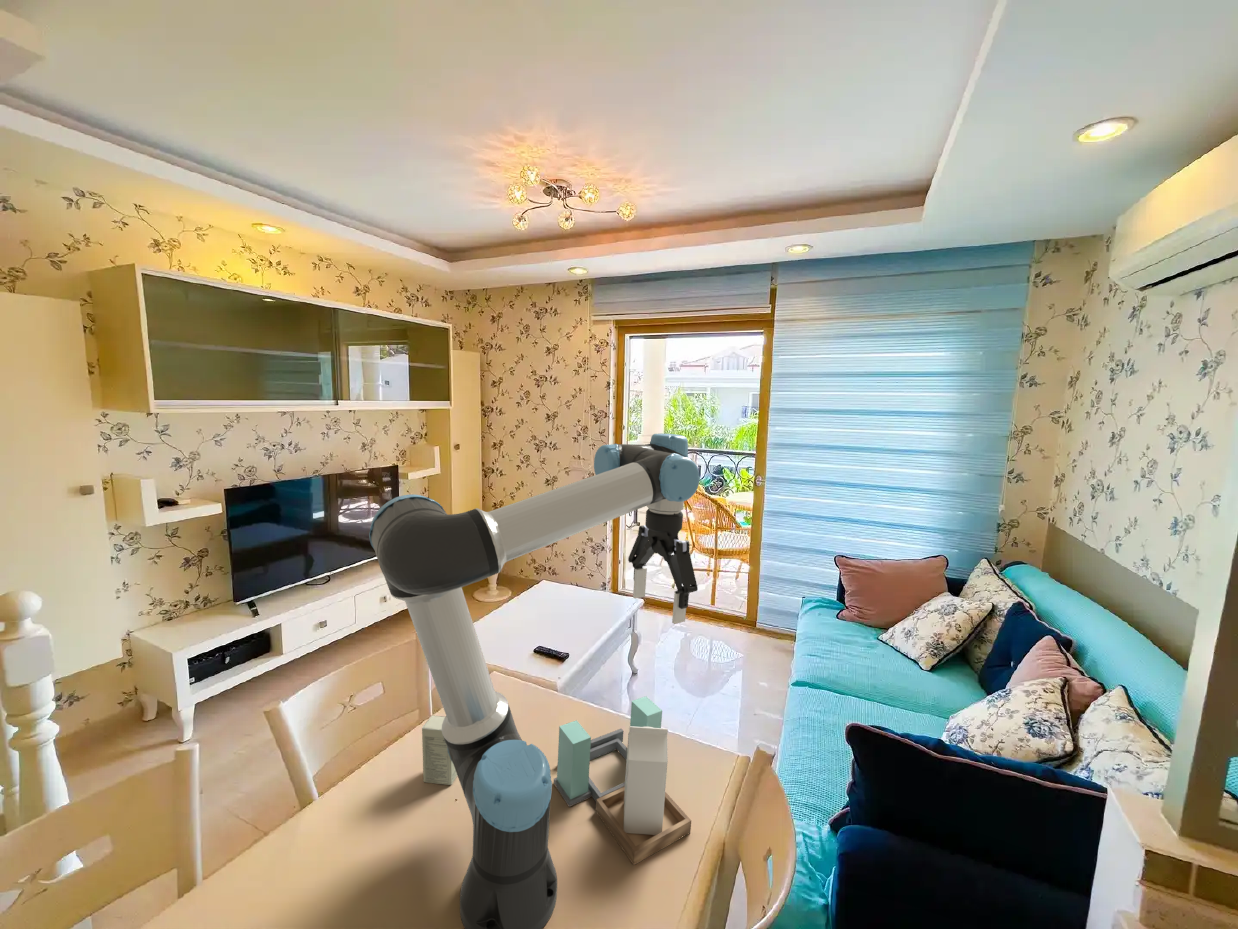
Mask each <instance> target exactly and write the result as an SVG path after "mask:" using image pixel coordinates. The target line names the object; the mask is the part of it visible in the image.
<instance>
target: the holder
mask: <svg viewBox="0 0 1238 929" xmlns="http://www.w3.org/2000/svg"><path fill="white" fill-rule="evenodd" d="M630 707H631V708H630V722H629V727H630V726H634V727H644V726H647V727H653V728H662V720H663V719H662V718H663V710H662V709H661V708H660V707H659V706H658V705H657V704H656V703H655V702H653V701H652V700H651V699H650V698H649V697H648V696H647V695H646V696H642V697H639V698H636V699H633V700H631V706H630ZM558 727H559V728H558V749H557V769H556V771H557V773H556V777H554V778H553V785H554V786H555V788H556V789H557V791H558V792H559V793H560V795H561V796H562V798H563V800H564V801H565V803H566V804H567V806H568V807H569V808H570V807H572V806H575V805H576V804H577V805H578V803H580V802H583V801H585V800H587V799H590V798H592V799H593V800H594V801H595V802H596V799H598V798H600V797H603V796H605V795H607V794H609V793H611V792H614V791H616V790H618V789H620V788H622V787H624V786H625V781H624V782H622V783H620V784H618V785H615V786H614V787H611V788H608V789H607V790H604V791H602V792H601V791H600V790H599V788H598V787H597V785H596V784H595V783H594V782H593V780H592V779H591V777H590V763H591V762H590V761H592V760H594V759H596V758H598V757H601V756H603V755H607V754H609V753H612V752H615V751H617V752H618V753H619V754H620V755H621V756H622V757H623V758H624V760H625V761H627V746H626V745H625V744H624V730H623V729H622V728H619V729H616V730H613V731H610V732H608V733H605V734H603V735H600V736H598V737H595V738H592V736H590V735H589V733H588V732H587V731H586V729H584V727H583V725H581V723H580V722H579V721H578V720H577V719H576V720H573V721H571V722H568V723H566V724H561V725H559V726H558ZM622 742H623V743H622Z"/></svg>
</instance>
